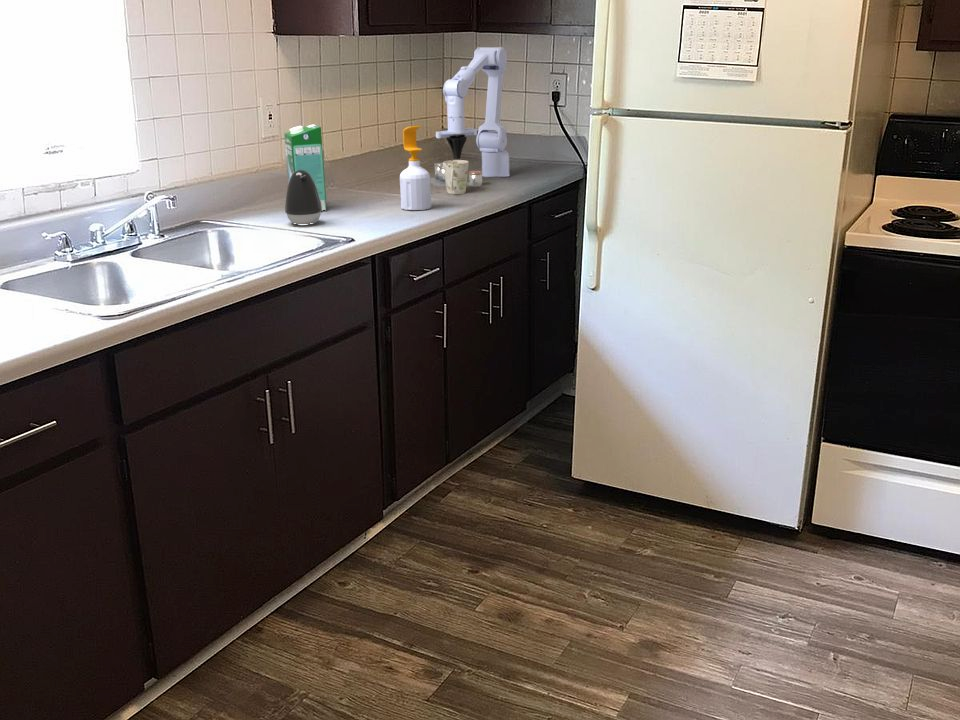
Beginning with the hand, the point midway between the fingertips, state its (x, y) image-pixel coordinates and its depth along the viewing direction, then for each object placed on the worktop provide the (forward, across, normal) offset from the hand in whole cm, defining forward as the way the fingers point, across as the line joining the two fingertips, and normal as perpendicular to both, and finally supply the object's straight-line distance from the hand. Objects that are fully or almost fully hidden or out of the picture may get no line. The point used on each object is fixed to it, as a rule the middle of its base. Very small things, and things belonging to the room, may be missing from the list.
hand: (457, 158), depth 327 cm
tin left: (+9, -2, -15) cm, 18 cm away
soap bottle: (+10, +29, +27) cm, 40 cm away
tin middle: (+9, 0, -10) cm, 13 cm away
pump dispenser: (+10, +65, +29) cm, 72 cm away
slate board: (+9, 0, -9) cm, 13 cm away
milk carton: (+10, +57, +10) cm, 59 cm away
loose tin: (+9, -5, +4) cm, 11 cm away
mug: (+10, +7, +12) cm, 17 cm away
